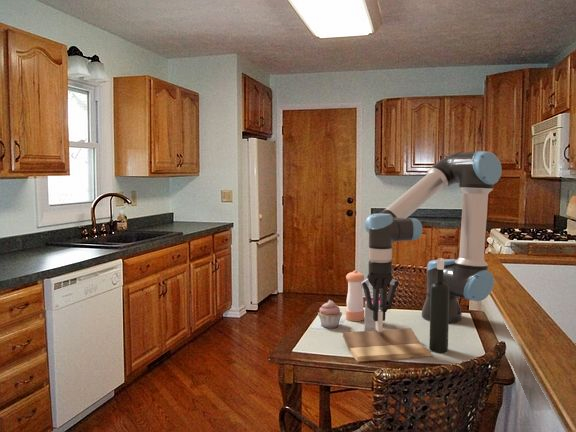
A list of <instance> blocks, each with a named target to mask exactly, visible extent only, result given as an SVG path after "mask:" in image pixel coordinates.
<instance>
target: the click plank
mask: <svg viewBox="0 0 576 432" xmlns="http://www.w3.org/2000/svg"><path fill="white" fill-rule="evenodd" d="M342 338H343V341H344V343H345V345H346V347H347V349H348V351H349V352H350V348H354V347H369V346H384V345H399V344H414V343H421V342H420V340H419V339H418V337H417V336H416V334H415V332H414V330H413V329H412V328H411V327H410V328H409V327H408V328H396V329H394V328H392V329H383V331H380V332H378V331H377V330H375V331H364V330H361V331H345V332H342Z"/></svg>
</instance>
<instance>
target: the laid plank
mask: <svg viewBox="0 0 576 432" xmlns="http://www.w3.org/2000/svg"><path fill="white" fill-rule="evenodd" d="M349 353H350V355H351V356H352V358H353V359H355V361H356V362H358V363H360V362H372V361H387V360H388V361H390V360H399V359H402V358H403V359H411V358H410V357H417V358H425V357H424V356H431V357H432V351H430V349H429V348H427V347H426V346H425V345H424V344H422V343H421V342H420V343H414V344H399V345H384V346H369V347H354V348H350V351H349Z"/></svg>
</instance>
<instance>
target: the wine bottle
mask: <svg viewBox="0 0 576 432" xmlns="http://www.w3.org/2000/svg"><path fill="white" fill-rule="evenodd" d="M436 260H437V282H435V283H433V284H432V285H431V296H430V320H429V348H428V349H429V350H430V351H431V353H432V352H433V353H436V354H437V353H438V354H444V353H448V351H449V286H448V284H446V283H444V282H443V274H444V258H441V257H439V258H437V259H436Z"/></svg>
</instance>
